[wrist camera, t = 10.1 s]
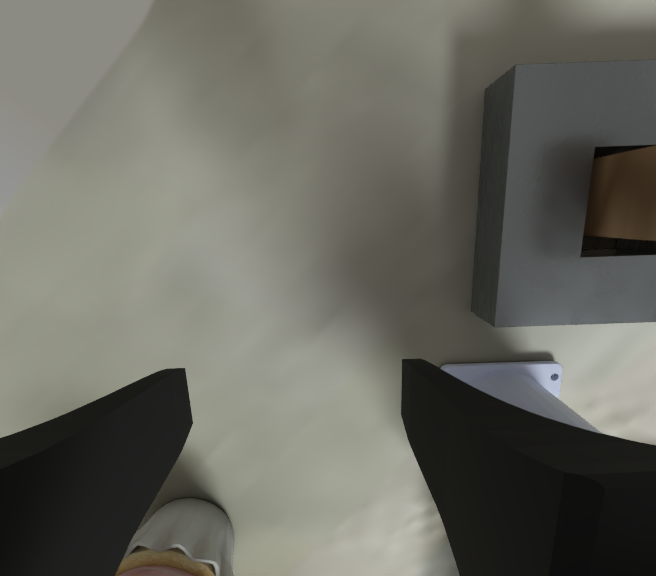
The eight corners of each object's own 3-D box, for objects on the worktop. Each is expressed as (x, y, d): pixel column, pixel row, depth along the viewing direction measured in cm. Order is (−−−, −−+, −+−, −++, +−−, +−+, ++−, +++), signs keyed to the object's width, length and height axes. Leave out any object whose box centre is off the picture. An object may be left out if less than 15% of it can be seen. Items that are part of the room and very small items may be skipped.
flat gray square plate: (672, 305, 21) (728, 319, 18) (471, 311, 21) (494, 327, 18) (718, 80, 18) (793, 54, 15) (485, 89, 18) (516, 64, 15)
